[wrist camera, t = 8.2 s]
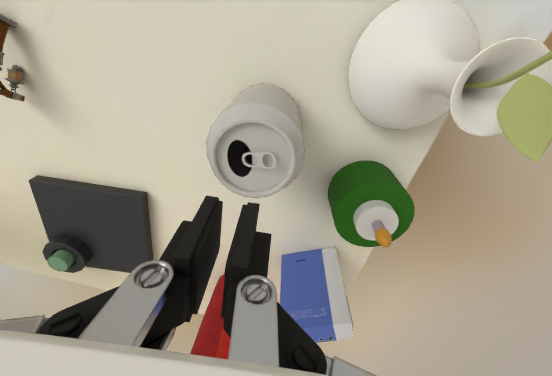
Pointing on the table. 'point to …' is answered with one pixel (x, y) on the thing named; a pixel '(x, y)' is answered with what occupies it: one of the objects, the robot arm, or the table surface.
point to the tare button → (61, 260)
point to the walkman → (316, 294)
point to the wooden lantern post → (14, 75)
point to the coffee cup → (213, 328)
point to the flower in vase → (452, 76)
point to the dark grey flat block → (94, 223)
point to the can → (257, 142)
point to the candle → (369, 204)
